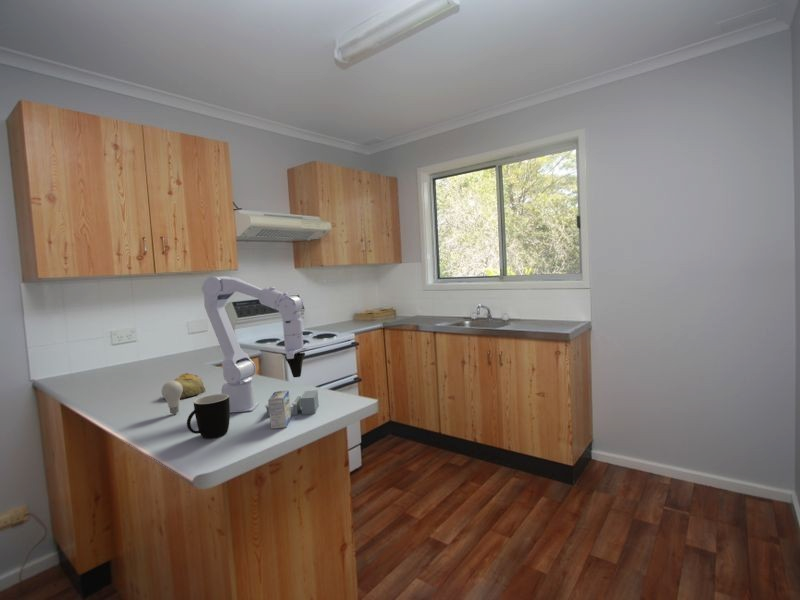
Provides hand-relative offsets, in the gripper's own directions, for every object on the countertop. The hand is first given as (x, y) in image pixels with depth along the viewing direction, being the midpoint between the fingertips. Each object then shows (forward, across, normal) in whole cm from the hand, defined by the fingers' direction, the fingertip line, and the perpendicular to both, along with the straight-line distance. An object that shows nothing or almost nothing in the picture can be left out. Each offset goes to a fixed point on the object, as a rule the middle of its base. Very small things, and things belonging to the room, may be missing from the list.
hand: (297, 376), depth 134 cm
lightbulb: (+10, +5, +42) cm, 43 cm away
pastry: (+11, +28, +49) cm, 58 cm away
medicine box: (+11, -12, +3) cm, 16 cm away
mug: (+11, -18, +21) cm, 30 cm away
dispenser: (+11, -2, +2) cm, 11 cm away
